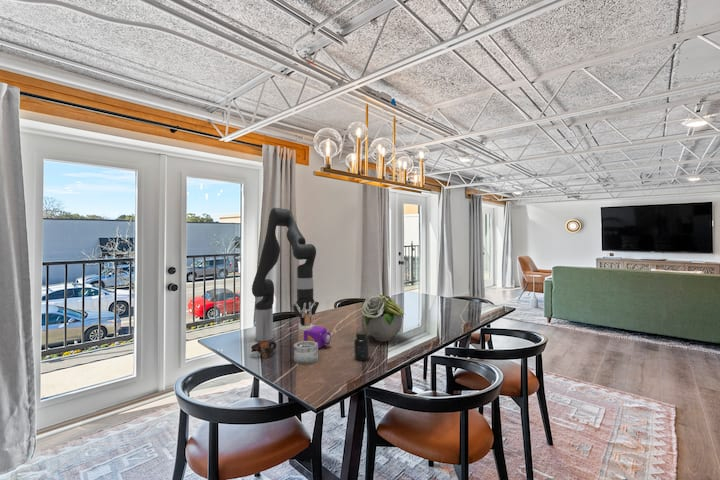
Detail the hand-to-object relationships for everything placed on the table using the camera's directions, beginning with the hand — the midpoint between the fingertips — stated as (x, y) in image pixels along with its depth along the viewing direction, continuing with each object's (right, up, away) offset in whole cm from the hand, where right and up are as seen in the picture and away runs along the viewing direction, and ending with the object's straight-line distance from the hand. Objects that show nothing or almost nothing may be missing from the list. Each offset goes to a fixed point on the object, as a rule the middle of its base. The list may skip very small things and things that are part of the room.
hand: (305, 324), depth 158 cm
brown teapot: (-21, -17, +7) cm, 28 cm away
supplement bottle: (+26, -16, +1) cm, 31 cm away
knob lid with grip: (0, -2, 0) cm, 2 cm away
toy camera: (+3, -16, +19) cm, 25 cm away
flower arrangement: (+38, -16, +30) cm, 51 cm away
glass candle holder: (0, -16, 0) cm, 16 cm away
